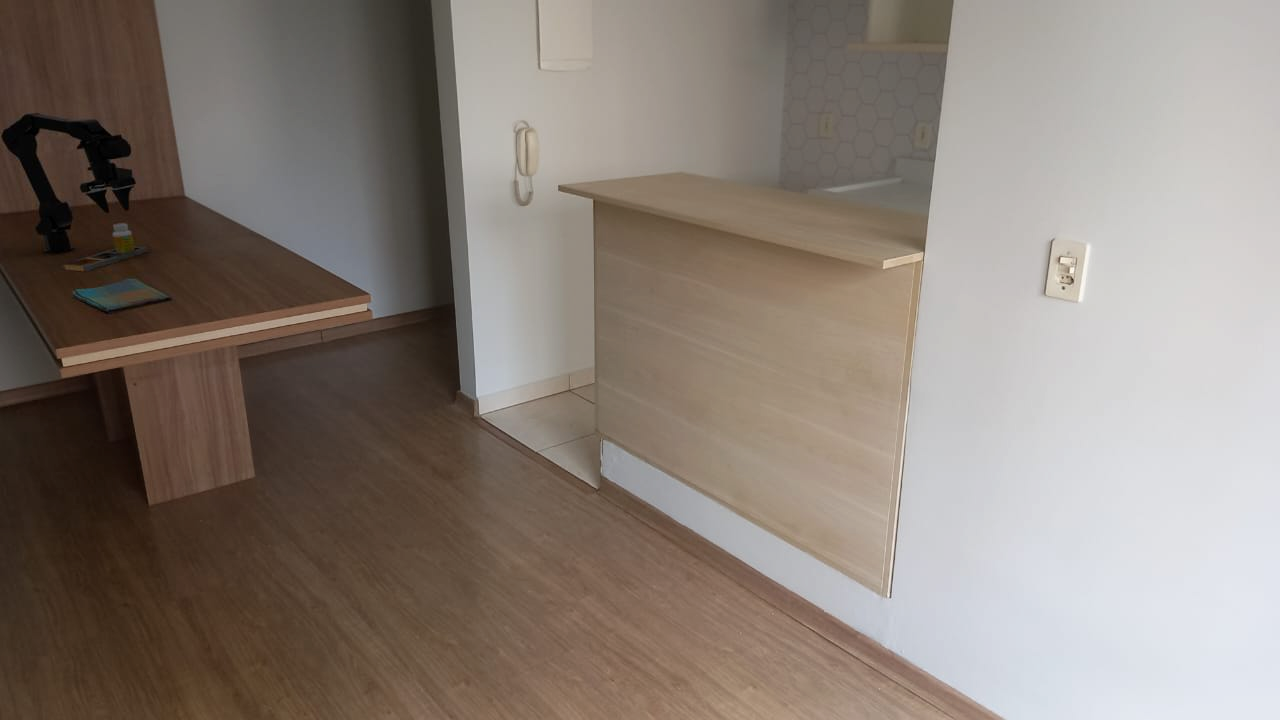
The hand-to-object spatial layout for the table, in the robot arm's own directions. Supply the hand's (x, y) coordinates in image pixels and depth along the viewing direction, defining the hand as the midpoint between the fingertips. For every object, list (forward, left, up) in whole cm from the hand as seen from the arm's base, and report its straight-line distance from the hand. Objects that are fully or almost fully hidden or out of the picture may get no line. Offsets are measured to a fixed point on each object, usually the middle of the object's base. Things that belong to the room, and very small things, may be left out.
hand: (117, 211), depth 283 cm
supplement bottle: (0, 0, -14) cm, 14 cm away
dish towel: (+35, -37, -15) cm, 53 cm away
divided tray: (0, -7, -14) cm, 16 cm away
